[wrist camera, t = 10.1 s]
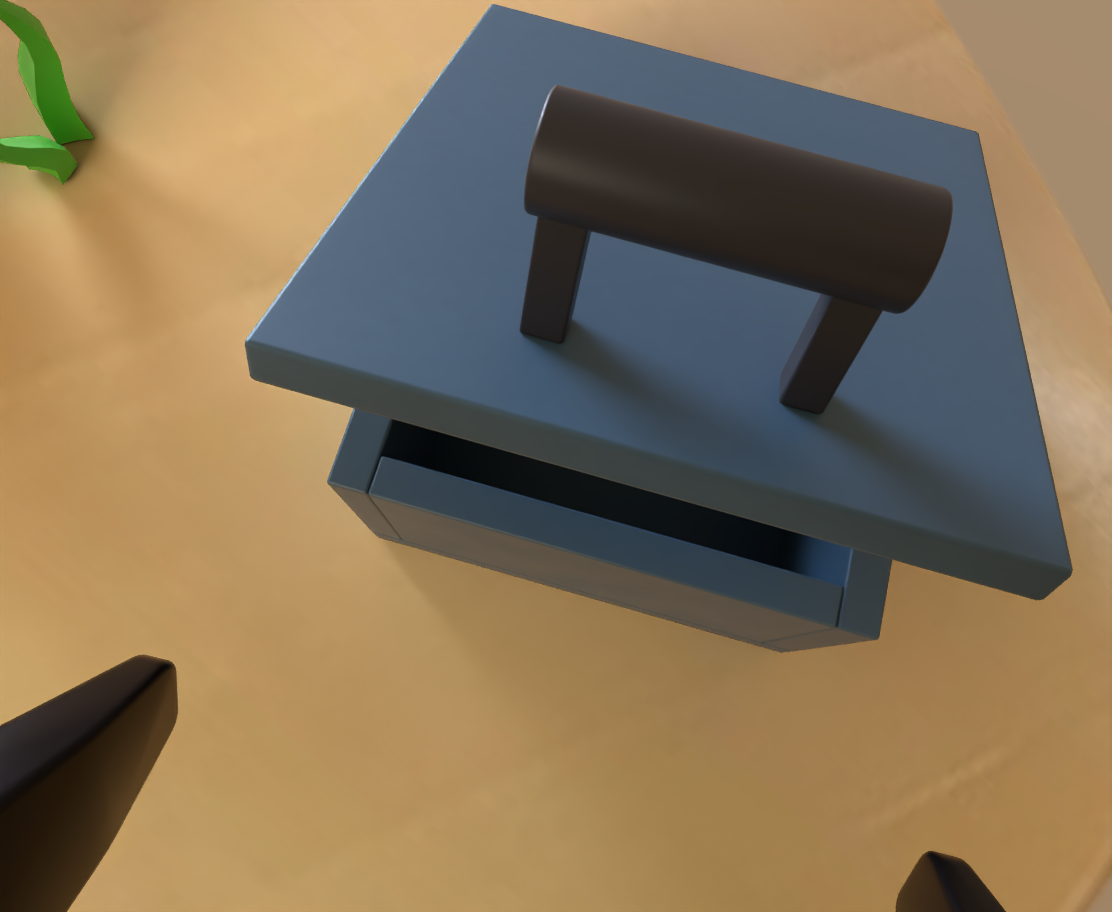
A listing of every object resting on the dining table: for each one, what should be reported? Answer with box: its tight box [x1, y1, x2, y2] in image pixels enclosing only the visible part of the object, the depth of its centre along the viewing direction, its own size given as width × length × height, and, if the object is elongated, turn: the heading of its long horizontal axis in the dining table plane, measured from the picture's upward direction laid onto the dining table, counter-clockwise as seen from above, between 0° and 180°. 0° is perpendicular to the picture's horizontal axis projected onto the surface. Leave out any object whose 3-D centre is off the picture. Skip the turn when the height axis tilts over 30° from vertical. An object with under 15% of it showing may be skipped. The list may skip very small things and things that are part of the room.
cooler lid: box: [245, 4, 1073, 600], centre depth 15 cm, size 13×12×4 cm
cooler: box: [327, 408, 892, 653], centre depth 22 cm, size 12×12×6 cm
